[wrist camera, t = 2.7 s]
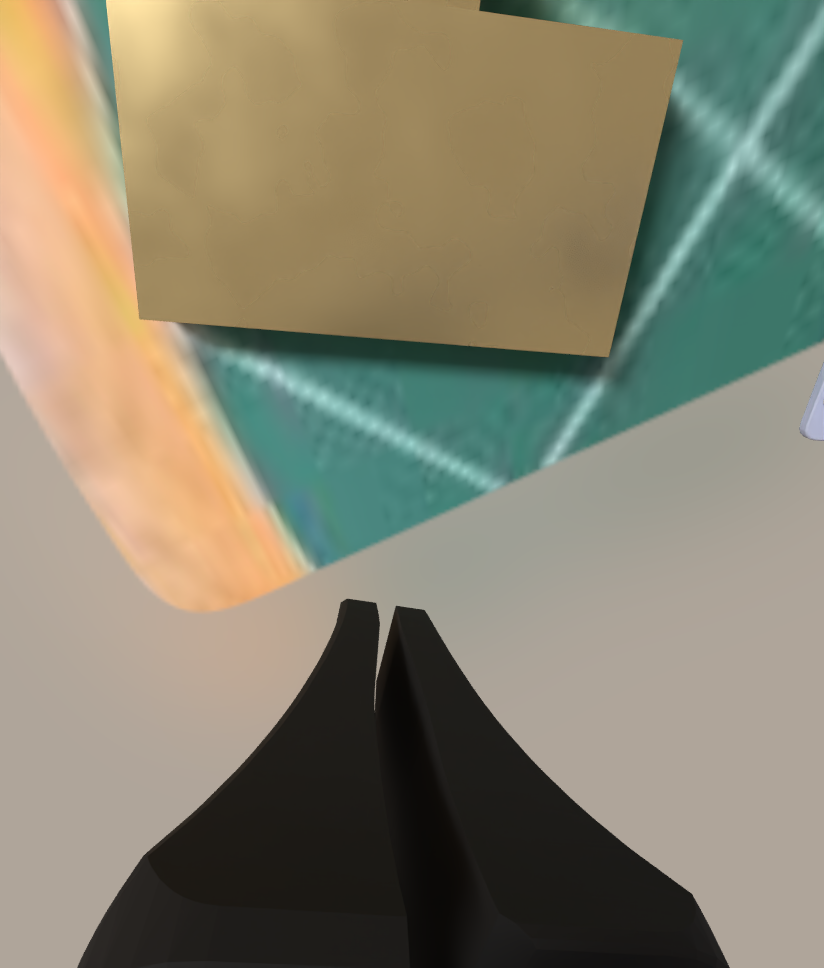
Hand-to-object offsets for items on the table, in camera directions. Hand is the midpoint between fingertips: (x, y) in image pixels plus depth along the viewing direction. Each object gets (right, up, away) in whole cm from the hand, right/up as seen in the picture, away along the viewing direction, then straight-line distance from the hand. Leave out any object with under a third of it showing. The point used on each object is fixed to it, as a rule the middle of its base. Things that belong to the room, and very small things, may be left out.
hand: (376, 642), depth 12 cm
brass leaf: (0, +14, +4) cm, 15 cm away
